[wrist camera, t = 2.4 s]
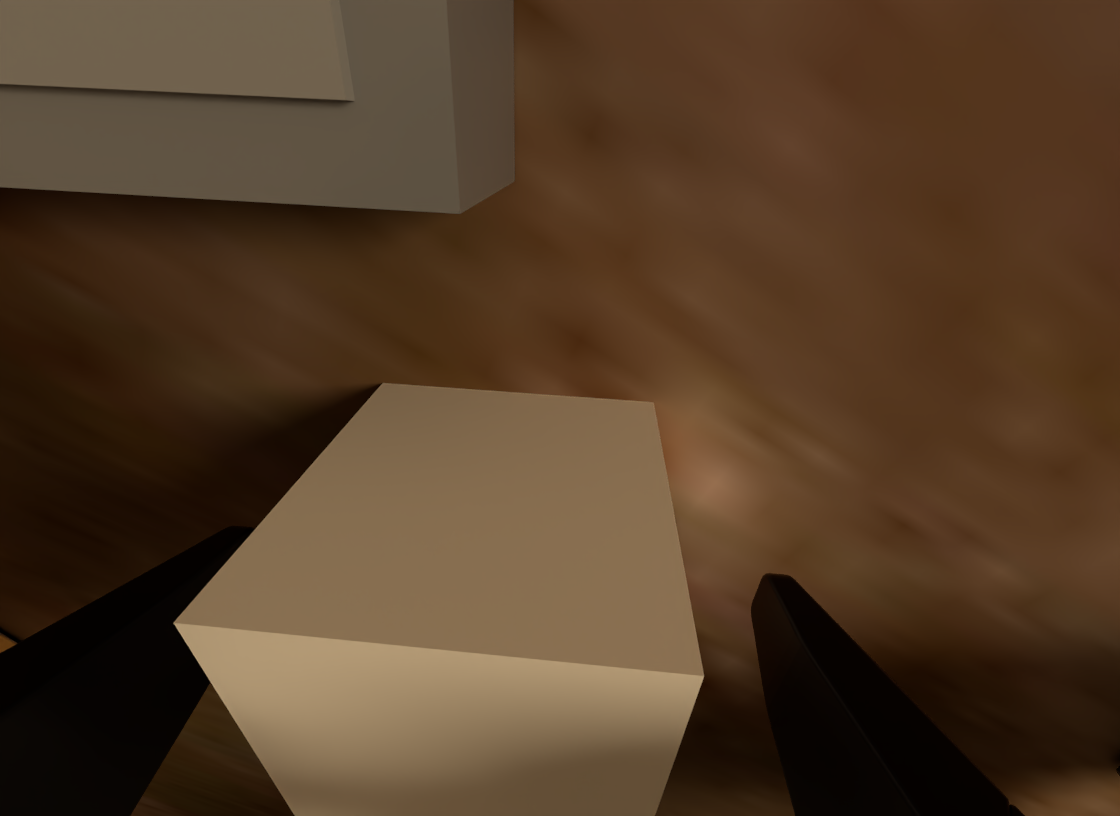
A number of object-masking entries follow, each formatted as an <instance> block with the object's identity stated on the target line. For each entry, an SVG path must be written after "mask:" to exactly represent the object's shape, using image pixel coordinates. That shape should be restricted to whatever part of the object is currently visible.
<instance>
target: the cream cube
mask: <svg viewBox="0 0 1120 816" xmlns="http://www.w3.org/2000/svg"><path fill="white" fill-rule="evenodd" d="M174 625H175V626H176V628H177V629H178V631H179V633H180V634H181V636H182V637H183V639H184V641H185V642H186V644H187V645H188V647H189V649H190V650H191V652H192V653H193V655H194V656H195V658H196V660H197V661H198V663H199V664H200V666H201V668H202V669H203V671H204V672H205V674H206V676H207V677H208V679H209V680H210V682H211V683H212V685H213V687H214V688H215V690H216V691H217V693H218V695H219V696H220V698H221V699H222V701H223V703H224V704H225V706H226V707H227V709H228V710H229V712H230V714H231V715H232V717H233V718H234V720H235V722H236V723H237V725H238V726H239V728H240V730H241V731H242V733H243V734H244V736H245V738H246V739H247V741H248V742H249V744H250V745H251V747H252V749H253V750H254V752H255V753H256V755H257V757H258V758H259V760H260V761H261V763H262V765H263V766H264V768H265V769H266V771H267V772H268V774H269V776H270V777H271V779H272V780H273V782H274V784H275V785H276V787H277V788H278V790H279V792H280V793H281V795H282V796H283V798H284V799H285V801H286V803H287V804H288V806H289V807H290V809H291V811H292V812H293V814H294V815H295V816H655V814H656V811H657V809H658V806H659V803H660V800H661V797H662V794H663V792H664V789H665V786H666V783H667V780H668V777H669V775H670V772H671V769H672V766H673V763H674V760H675V757H676V755H677V752H678V749H679V746H680V743H681V740H682V738H683V735H684V732H685V729H686V726H687V723H688V721H689V718H690V715H691V712H692V709H693V706H694V704H695V701H696V698H697V695H698V692H699V689H700V687H701V684H702V681H703V678H704V673H703V667H702V662H701V656H700V651H699V646H698V640H697V635H696V629H695V624H694V619H693V613H692V608H691V602H690V597H689V591H688V586H687V581H686V575H685V570H684V564H683V559H682V554H681V548H680V543H679V537H678V532H677V526H676V521H675V516H674V510H673V505H672V499H671V494H670V488H669V483H668V478H667V472H666V467H665V461H664V456H663V451H662V445H661V440H660V434H659V429H658V423H657V418H656V413H655V407H654V402H642V401H628V400H614V399H600V398H586V397H572V396H558V395H544V394H530V393H516V392H502V391H488V390H474V389H460V388H445V387H431V386H417V385H403V384H389V383H382V384H381V385H380V387H379V388H378V389H377V390H376V391H375V392H374V393H373V395H372V396H371V397H370V398H369V399H368V400H367V401H366V403H365V404H364V405H363V406H362V407H361V408H360V410H359V411H358V412H357V413H356V414H355V415H354V416H353V418H352V419H351V420H350V421H349V422H348V423H347V424H346V426H345V427H344V428H343V429H342V430H341V431H340V432H339V434H338V435H337V436H336V437H335V438H334V439H333V440H332V442H331V443H330V444H329V445H328V446H327V447H326V448H325V450H324V451H323V452H322V453H321V454H320V455H319V456H318V458H317V459H316V460H315V461H314V462H313V463H312V465H311V466H310V467H309V468H308V469H307V470H306V471H305V473H304V474H303V475H302V476H301V477H300V478H299V479H298V481H297V482H296V483H295V484H294V485H293V486H292V487H291V489H290V490H289V491H288V492H287V493H286V494H285V495H284V497H283V498H282V499H281V500H280V501H279V502H278V503H277V505H276V506H275V507H274V508H273V509H272V510H271V512H270V513H269V514H268V515H267V516H266V517H265V518H264V520H263V521H262V522H261V523H260V524H259V525H258V526H257V528H256V529H255V530H254V531H253V532H252V533H251V534H250V536H249V537H248V538H247V539H246V540H245V541H244V542H243V544H242V545H241V546H240V547H239V548H238V549H237V550H236V552H235V553H234V554H233V555H232V556H231V557H230V558H229V560H228V561H227V562H226V563H225V564H224V565H223V567H222V568H221V569H220V570H219V571H218V572H217V573H216V575H215V576H214V577H213V578H212V579H211V580H210V581H209V583H208V584H207V585H206V586H205V587H204V588H203V589H202V591H201V592H200V593H199V594H198V595H197V596H196V597H195V599H194V600H193V601H192V602H191V603H190V604H189V605H188V607H187V608H186V609H185V610H184V611H183V612H182V614H181V615H180V616H179V617H178V618H177V619H176V620H175V622H174Z"/></svg>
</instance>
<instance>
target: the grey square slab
mask: <svg viewBox="0 0 1120 816" xmlns="http://www.w3.org/2000/svg"><path fill="white" fill-rule="evenodd" d="M514 181H515V144H514V10H513V0H0V187H6V188H23V189H40V190H57V191H75V192H92V193H109V194H127V195H144V196H161V197H178V198H196V199H213V200H230V201H248V202H265V203H282V204H299V205H317V206H334V207H351V208H368V209H386V210H403V211H420V212H438V213H455V214H461V213H462V212H464V211H466V210H467V209H469V208H471V207H472V206H474V205H476V204H478V203H479V202H481V201H483V200H484V199H486V198H488V197H489V196H491V195H493V194H494V193H496V192H498V191H499V190H501V189H503V188H504V187H506V186H508V185H509V184H511V183H513V182H514Z"/></svg>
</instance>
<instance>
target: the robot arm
mask: <svg viewBox="0 0 1120 816" xmlns="http://www.w3.org/2000/svg"><path fill="white" fill-rule="evenodd" d="M254 530H255V528H252V527H242V526H230V527H227V528H225V529H223V530H222V531H220V532H218V533H216V534H214V535H213V536H211V537H209V538H207V539H205V540H204V541H202V542H200V543H198V544H196V545H194V546H193V547H191V548H189V549H187V550H185V551H184V552H182V553H180V554H178V555H176V556H175V557H173V558H171V559H169V560H167V561H166V562H164V563H162V564H160V565H158V566H157V567H155V568H153V569H151V570H149V571H148V572H146V573H144V574H142V575H140V576H139V577H137V578H135V579H133V580H131V581H129V582H128V583H126V584H124V585H122V586H120V587H119V588H117V589H115V590H113V591H111V592H110V593H108V594H106V595H104V596H102V597H101V598H99V599H97V600H95V601H93V602H92V603H90V604H88V605H86V606H84V607H82V608H81V609H79V610H77V611H75V612H73V613H72V614H70V615H68V616H66V617H64V618H63V619H61V620H59V621H57V622H55V623H54V624H52V625H50V626H48V627H46V628H45V629H43V630H41V631H39V632H37V633H35V634H34V635H32V636H30V637H28V638H26V639H25V640H23V641H21V642H19V643H17V644H16V645H14V646H12V647H10V648H8V649H7V650H5V651H3V652H1V653H0V816H130V815H131V813H132V812H133V810H134V808H135V807H136V805H137V803H138V802H139V800H140V798H141V797H142V795H143V793H144V792H145V790H146V789H147V787H148V785H149V784H150V782H151V780H152V779H153V777H154V775H155V774H156V772H157V770H158V769H159V767H160V765H161V764H162V762H163V760H164V759H165V757H166V755H167V754H168V752H169V750H170V749H171V747H172V745H173V744H174V742H175V740H176V739H177V737H178V735H179V734H180V732H181V730H182V729H183V727H184V725H185V724H186V722H187V720H188V719H189V717H190V715H191V714H192V712H193V710H194V709H195V707H196V705H197V704H198V702H199V700H200V699H201V697H202V696H203V694H204V692H205V691H206V689H207V687H208V686H209V684H210V680H209V679H208V677H207V676H206V674H205V672H204V671H203V669H202V668H201V666H200V664H199V663H198V661H197V660H196V658H195V656H194V655H193V653H192V652H191V650H190V649H189V647H188V645H187V644H186V642H185V641H184V639H183V637H182V636H181V634H180V633H179V631H178V629H177V628H176V626H175V625H174V622H175V620H176V619H177V618H178V617H179V616H180V615H181V614H182V612H183V611H184V610H185V609H186V608H187V607H188V605H189V604H190V603H191V602H192V601H193V600H194V599H195V597H196V596H197V595H198V594H199V593H200V592H201V591H202V589H203V588H204V587H205V586H206V585H207V584H208V583H209V581H210V580H211V579H212V578H213V577H214V576H215V575H216V573H217V572H218V571H219V570H220V569H221V568H222V567H223V565H224V564H225V563H226V562H227V561H228V560H229V558H230V557H231V556H232V555H233V554H234V553H235V552H236V550H237V549H238V548H239V547H240V546H241V545H242V544H243V542H244V541H245V540H246V539H247V538H248V537H249V536H250V534H251V533H252V532H253V531H254ZM751 617H752V623H753V629H754V636H755V642H756V648H757V654H758V660H759V666H760V672H761V678H762V684H763V690H764V696H765V702H766V707H767V712H768V716H769V720H770V724H771V728H772V731H773V735H774V739H775V743H776V746H777V750H778V754H779V757H780V761H781V765H782V768H783V772H784V776H785V779H786V783H787V787H788V790H789V794H790V798H791V802H792V805H793V809H794V813H795V816H1025V815H1024V814H1023V813H1022V812H1021V811H1020V810H1019V809H1018V808H1017V807H1016V806H1014V805H1009V801H1008V799H1007V797H1006V796H1005V795H1004V794H1003V793H1002V792H1001V791H1000V790H999V789H998V788H997V787H996V786H995V785H994V784H993V783H992V782H991V781H990V780H989V779H988V778H987V777H986V776H985V775H984V774H983V773H982V772H981V771H980V769H979V768H978V767H977V766H976V765H975V764H974V763H973V762H972V761H971V760H970V759H969V758H968V757H967V756H966V755H965V754H964V753H963V752H962V751H961V750H960V749H959V748H958V747H957V746H956V745H955V744H954V743H953V742H952V741H951V740H950V739H949V738H948V737H947V736H946V735H945V734H944V732H943V731H942V730H941V729H940V728H939V727H938V726H937V725H936V724H935V723H934V722H933V721H932V720H931V719H930V718H929V717H928V716H927V715H926V714H925V713H924V712H923V711H922V710H921V709H920V708H919V707H918V706H917V705H916V704H915V703H914V702H913V701H912V700H911V699H910V698H909V697H908V696H907V694H906V693H905V692H904V691H903V690H902V689H901V688H900V687H899V686H898V685H897V684H896V683H895V682H894V681H893V680H892V679H891V678H890V677H889V676H888V675H887V674H886V673H885V672H884V671H883V670H882V669H881V668H880V667H879V666H878V665H877V664H876V663H875V662H874V661H873V660H872V659H871V657H870V656H869V655H868V654H867V653H866V652H865V651H864V650H863V649H862V648H861V647H860V646H859V645H858V644H857V643H856V642H855V641H854V640H853V639H852V638H851V637H850V636H849V635H848V634H847V633H846V632H845V631H844V630H843V629H842V628H841V627H840V626H839V625H838V624H837V623H836V622H835V621H834V619H833V618H832V617H831V616H830V615H829V614H828V613H827V612H826V611H825V610H824V609H823V608H822V607H821V606H820V605H819V604H818V603H817V602H816V601H815V600H814V599H813V598H812V597H811V596H810V595H809V594H808V593H807V592H806V591H805V590H804V589H803V588H802V587H801V586H800V585H799V584H798V582H797V581H796V580H795V579H793V578H792V577H790V576H788V575H784V574H772V573H767V574H765V575H764V576H763V577H762V579H761V581H760V584H759V586H758V589H757V591H756V594H755V596H754V599H753V602H752V606H751ZM1116 770H1117V773H1118V775H1119V776H1120V766H1119V767H1118V768H1117V769H1116Z"/></svg>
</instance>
